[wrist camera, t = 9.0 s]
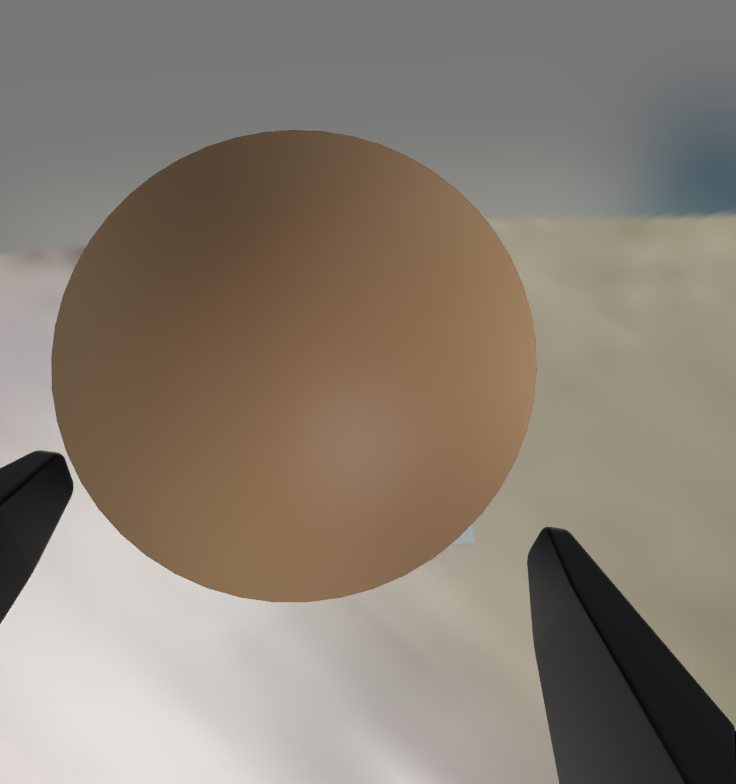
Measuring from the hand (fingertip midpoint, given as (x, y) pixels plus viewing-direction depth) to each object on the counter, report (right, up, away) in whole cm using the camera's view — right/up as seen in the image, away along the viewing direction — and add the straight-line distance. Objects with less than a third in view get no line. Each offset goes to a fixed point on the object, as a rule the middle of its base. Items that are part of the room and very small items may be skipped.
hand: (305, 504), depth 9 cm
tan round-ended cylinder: (0, +1, +9) cm, 9 cm away
